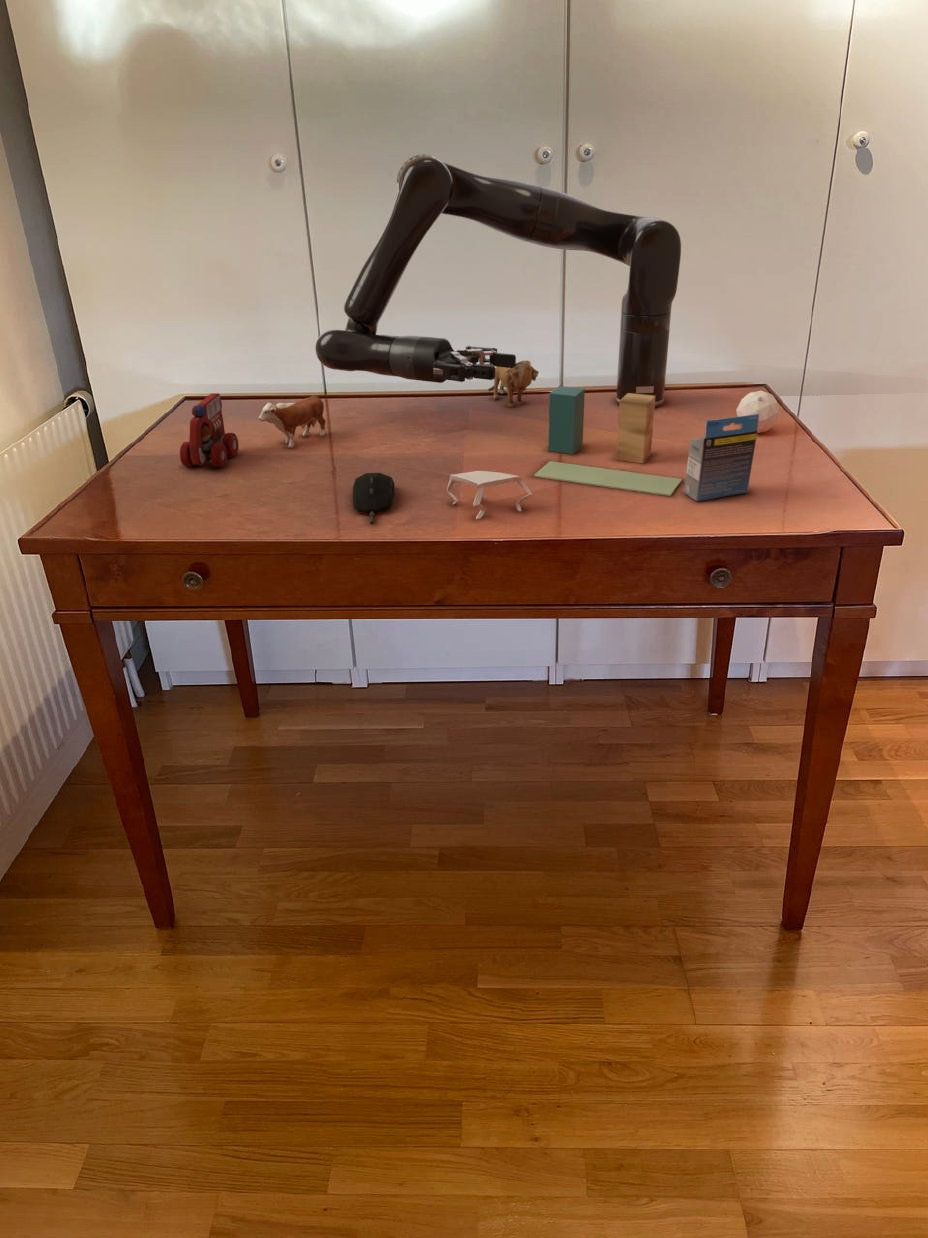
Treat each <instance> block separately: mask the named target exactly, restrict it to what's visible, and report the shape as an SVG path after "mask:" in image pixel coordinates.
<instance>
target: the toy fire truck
mask: <svg viewBox="0 0 928 1238" xmlns="http://www.w3.org/2000/svg"><path fill="white" fill-rule="evenodd" d="M222 409H223V403H222V397H221V394H220V393H219V392H217V393H215V392H213V393H210V394H209V395H207V396H206V397H205V398H204V399H202V400H201V401H200V402H199V403H198V404H197V405H194V406H193V407H192V408H191V415H192V416H193V417H192V418H191V419H190V421H189V436H188V437H189V439H188V440H189V441H183V442H182V443H181V445H180V448H179V458H180V459H179V460H180V462H181V464H182V465H183V466H184V467H194V466H203V465H205V464H206V463H209V462H211V465H212V466H213V467H215V468H224V467H225V466H226V464H227V462H228V461H227V460H228V458H234V457H236V456H237V454H238V452H239V446H240V445H239V439H238V436H237V434H236V433H234V432H226V431H225V423H224V417H223V411H222Z"/></svg>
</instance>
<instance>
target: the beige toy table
mask: <svg viewBox="0 0 928 1238" xmlns="http://www.w3.org/2000/svg"><path fill="white" fill-rule="evenodd" d="M456 481H457V482H461V483H465V484H468V485H472V486H475V487H477V492H476V494H475V497H474V499H473V503H472V506H473V507H474V508H476V509H478V510H479V512H478V514H477V515H476V517H475V519H476V520H480V519H482V517H483V515H484V514H485V512H486V510H487V509H486V508H485V507H484V506H483V505H482V504H481V502H484V499H485V494H484V493H485V492H484V490H485V488H489V487H493V486H498V485H504V484H509V483H510V484H511V483H513V482H515V483H518V484H519V486H521V488H523V490H524V491H525V492H526V493H527V494H525V495H524V496H523V497H522V498H520V499H518V500H517V501H516V502H514V504H515V507H516V510H517V511H518V512H522V507H521V505H520V503H522V502H524V501H525V500H527V499H529V498H530V497H531V496H533V493H532V491H531V490H530V488H529V487H528V486H527V484H526V483H525V482H524V480H523V479H522V477H521V476H518V475H515V474H509V473H504V472H498V471H489V470H488V471H487V470H475V471H468V472H467V471H466V472H461V473H453V474H449V480H448V483H447V487H446V493H447V494H448V495H449V496H450V497H451V498H452V499H453V500H454V502H453V503H452V506H456V505H457V503H458V502H459V499H458V498H457V497H456V496H455V495H454V494H453V493H452V492H451V490H452V487H453V485H454V484H455V483H456Z"/></svg>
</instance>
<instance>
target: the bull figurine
mask: <svg viewBox="0 0 928 1238" xmlns="http://www.w3.org/2000/svg"><path fill="white" fill-rule="evenodd" d="M324 410H325V407H324V402H323V400H322V398H321V397H320V396H319V395H318V394H317V395H316V394H314V395H312V396H309V397H306V398H303V399H301V400H298V401H295V402H287V403H284V402H278V403H276V404H273V403H271V402H267V403H266V404H265V405H264V406H263V408H262V410H261V413H260V414H259V415H258V420H259V422H267V423H268V424H272V425H274V427H275V428H277V429H278V430H279V431H280V432H282V433H283V434H284V435H285V437H286V438H285V441H284V444H285V445H287V449H294V447H295V443H294V438H295V435H296V430H297V427H301V429H302V430H304V429H305V430H304V431H303V433H302V435H301V436H302V437H303V438H306V437H308V436H309V434H310V429H311V427H312V428H315V426H316V423H317V422H318V424H319V425H320V433H319V437H325V435H326V433H327V432H326V419H325V418H324V416H323V415H324Z"/></svg>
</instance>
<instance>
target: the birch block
mask: <svg viewBox="0 0 928 1238" xmlns="http://www.w3.org/2000/svg"><path fill="white" fill-rule="evenodd" d="M618 406H619V407H618V420H617V438H616V456H615V460H616V461H622V462H629V463H636V464H644V463H645V462H646V461H647V459H648V458H649V457H650V456H651V454H652V443H653V431H654V419H655V408H656V407H655V396H653V395H643V394H633V393H628V394H626V395H625V396H624V397H623V398H622V399H621V400H620V403H619V404H618Z"/></svg>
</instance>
